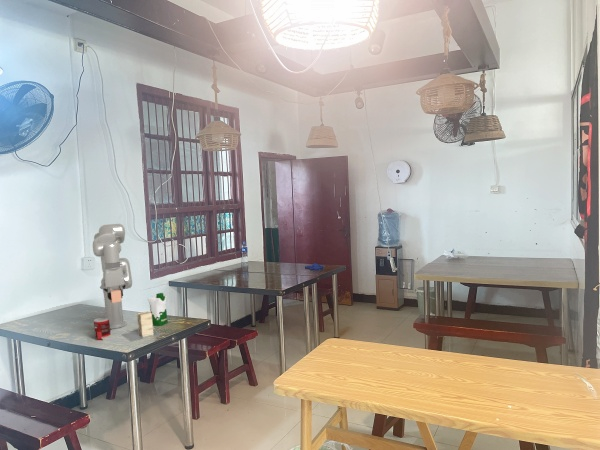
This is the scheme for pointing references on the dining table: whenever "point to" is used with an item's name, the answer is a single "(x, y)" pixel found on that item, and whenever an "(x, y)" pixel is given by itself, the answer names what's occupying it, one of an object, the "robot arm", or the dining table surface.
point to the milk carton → (158, 309)
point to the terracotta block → (115, 296)
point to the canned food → (102, 328)
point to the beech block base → (145, 330)
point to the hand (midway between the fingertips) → (115, 298)
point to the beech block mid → (144, 318)
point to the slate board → (137, 335)
